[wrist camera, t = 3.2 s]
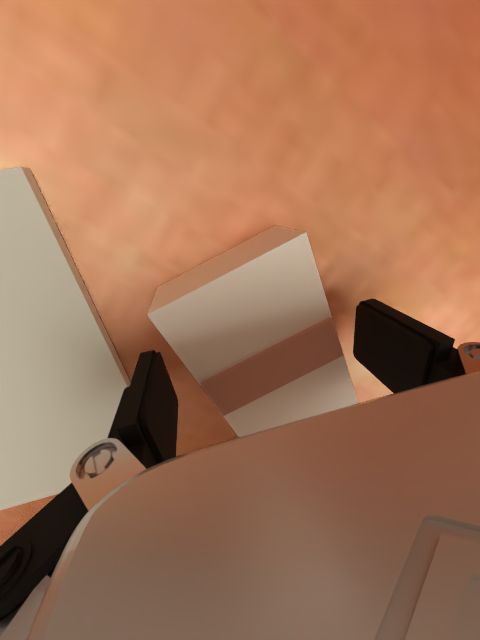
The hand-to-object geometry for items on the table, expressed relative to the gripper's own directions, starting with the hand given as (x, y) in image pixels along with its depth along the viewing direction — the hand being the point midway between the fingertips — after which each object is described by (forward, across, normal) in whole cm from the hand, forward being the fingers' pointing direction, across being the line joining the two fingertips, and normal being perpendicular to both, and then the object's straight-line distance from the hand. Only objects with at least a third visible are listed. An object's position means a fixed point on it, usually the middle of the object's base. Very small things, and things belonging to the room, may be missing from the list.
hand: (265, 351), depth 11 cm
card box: (+2, 0, 0) cm, 2 cm away
